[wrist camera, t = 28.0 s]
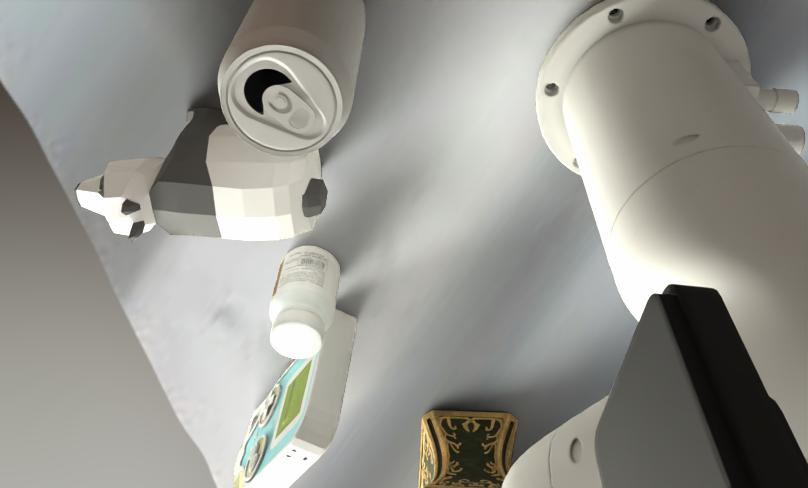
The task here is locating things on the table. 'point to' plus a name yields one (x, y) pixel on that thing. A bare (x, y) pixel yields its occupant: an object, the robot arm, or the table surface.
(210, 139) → the giant panda
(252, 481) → the handheld gaming console
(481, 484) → the decorative box
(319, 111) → the beverage can
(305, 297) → the pill bottle
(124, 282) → the table surface
